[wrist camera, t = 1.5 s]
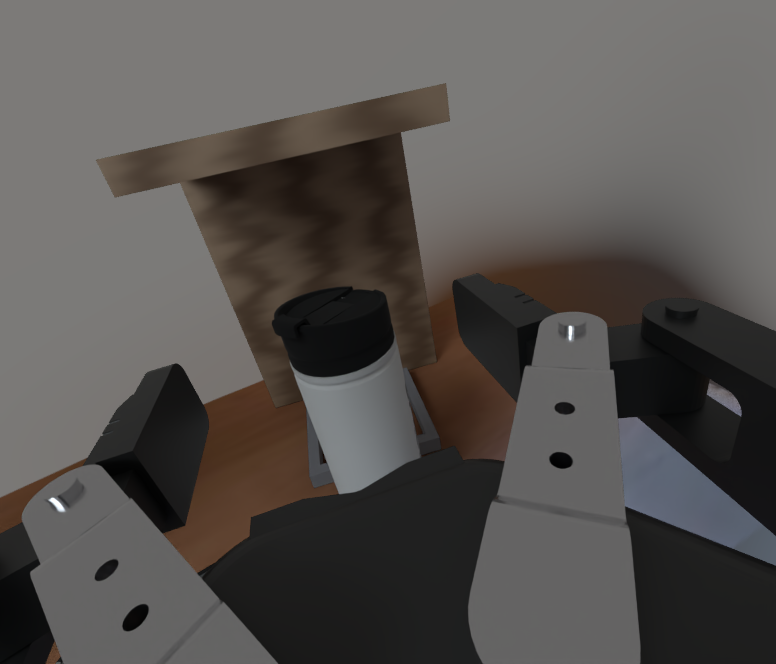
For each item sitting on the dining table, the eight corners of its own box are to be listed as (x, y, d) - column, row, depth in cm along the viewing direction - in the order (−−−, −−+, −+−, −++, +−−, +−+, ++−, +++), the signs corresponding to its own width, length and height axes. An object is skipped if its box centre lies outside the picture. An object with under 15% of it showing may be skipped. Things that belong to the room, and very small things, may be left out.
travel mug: (336, 542, 31) (241, 316, 21) (385, 479, 35) (325, 267, 25) (402, 585, 27) (325, 335, 18) (449, 509, 32) (406, 274, 22)
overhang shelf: (270, 501, 36) (95, 159, 22) (276, 397, 49) (171, 146, 35) (482, 436, 37) (446, 83, 24) (432, 353, 51) (390, 98, 37)
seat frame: (314, 487, 36) (309, 476, 35) (309, 406, 46) (305, 396, 46) (441, 449, 37) (439, 437, 36) (408, 377, 47) (406, 367, 47)
